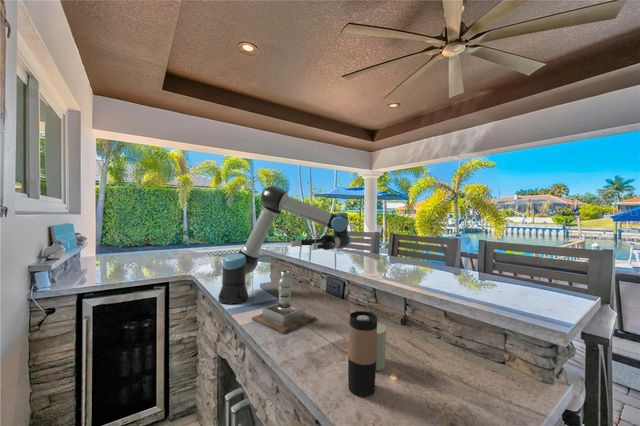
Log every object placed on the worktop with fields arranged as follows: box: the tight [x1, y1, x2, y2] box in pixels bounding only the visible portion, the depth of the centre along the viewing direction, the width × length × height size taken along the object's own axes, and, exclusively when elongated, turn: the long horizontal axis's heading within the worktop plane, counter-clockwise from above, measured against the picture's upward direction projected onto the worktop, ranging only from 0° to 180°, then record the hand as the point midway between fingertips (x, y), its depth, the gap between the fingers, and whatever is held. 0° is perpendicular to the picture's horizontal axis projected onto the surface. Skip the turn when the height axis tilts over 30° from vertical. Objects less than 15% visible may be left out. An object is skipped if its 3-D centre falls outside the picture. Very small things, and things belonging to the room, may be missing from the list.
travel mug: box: [347, 310, 378, 398], centre depth 76 cm, size 8×8×20 cm
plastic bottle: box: [277, 270, 293, 315], centre depth 122 cm, size 6×7×20 cm
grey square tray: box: [262, 303, 306, 326], centre depth 122 cm, size 13×13×4 cm
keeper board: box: [251, 307, 317, 335], centre depth 122 cm, size 20×20×1 cm
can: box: [376, 322, 387, 372], centre depth 89 cm, size 9×9×12 cm
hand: (301, 245), depth 129 cm, fingers open, 13 cm apart
